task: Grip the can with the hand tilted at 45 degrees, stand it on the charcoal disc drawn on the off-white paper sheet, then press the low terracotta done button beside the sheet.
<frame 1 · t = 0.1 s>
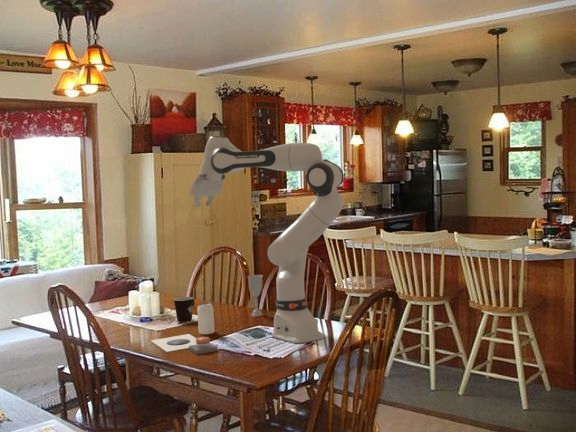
hand: (202, 206, 263), 52 cm above the table, tool tilted 20°, fingers open, 8 cm apart
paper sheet: (178, 343, 246), on the table
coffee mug: (187, 320, 286), on the table
chalice: (257, 315, 290), on the table
button base: (203, 350, 234), on the table
done button: (202, 340, 234), point 4 cm above the table, slide at 0.0 cm
can: (206, 333, 261), on the table
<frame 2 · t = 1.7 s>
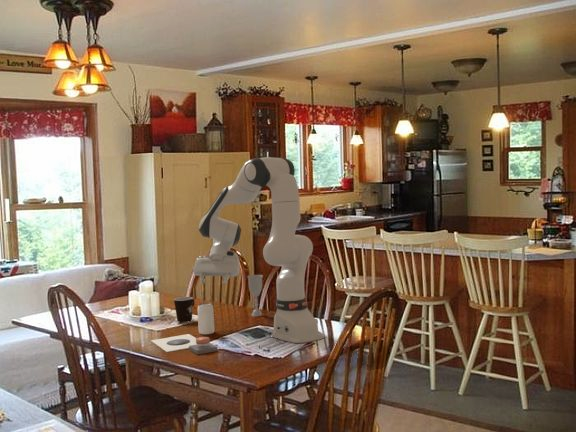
hand: (213, 283, 271), 18 cm above the table, tool tilted 45°, fingers open, 8 cm apart
nothing on the table moved.
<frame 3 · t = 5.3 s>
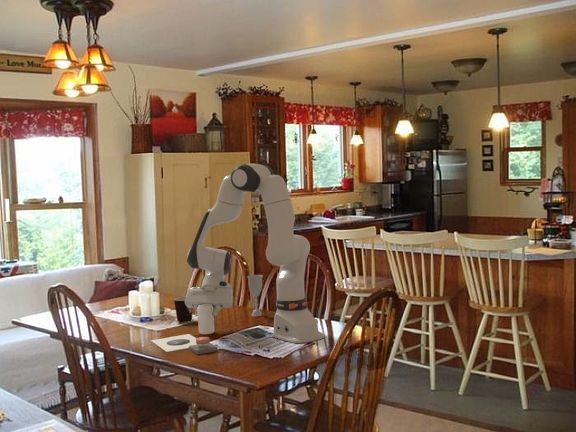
hand: (205, 315, 260), 7 cm above the table, tool tilted 45°, fingers closed on can, 6 cm apart
can: (206, 333, 261), on the table, touching gripper
everything else where it was.
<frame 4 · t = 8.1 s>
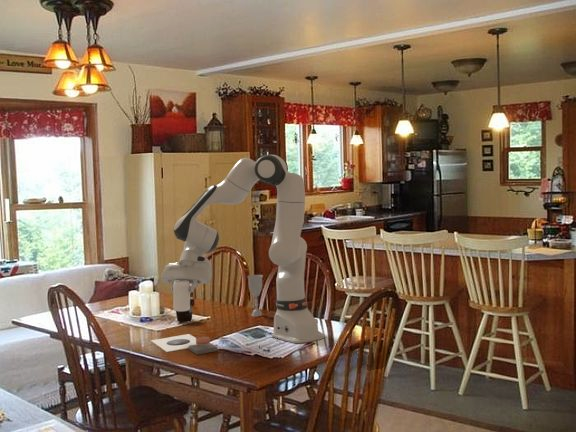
hand: (181, 291, 249), 20 cm above the table, tool tilted 45°, fingers closed on can, 6 cm apart
can: (181, 310, 250), point 12 cm above the table, touching gripper
everything else where it was.
when the fingers open (9 cm above the table, at t = 10.9 s): can drops 1 cm, resting on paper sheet.
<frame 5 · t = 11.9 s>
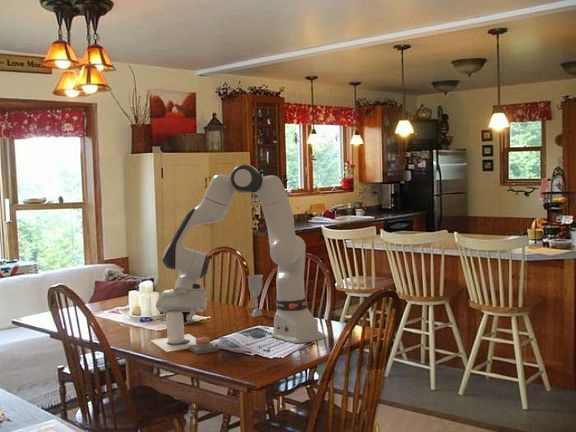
hand: (177, 319, 246), 9 cm above the table, tool tilted 45°, fingers open, 8 cm apart
can: (176, 342, 247), resting on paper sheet
everything else where it was.
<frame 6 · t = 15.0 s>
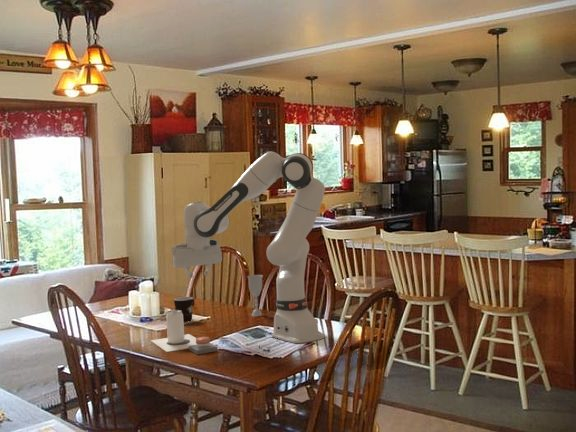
hand: (198, 276, 256), 24 cm above the table, tool pointing down, fingers open, 5 cm apart
nothing on the table moved.
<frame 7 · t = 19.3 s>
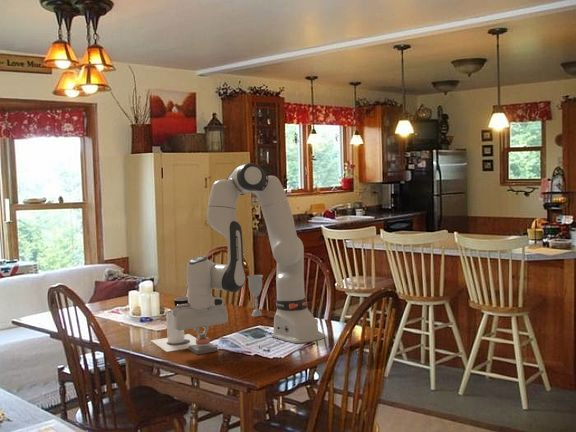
hand: (201, 338, 234), 4 cm above the table, tool pointing down, fingers closed, pressing on done button
done button: (202, 340, 234), point 4 cm above the table, slide at 0.1 cm, touching gripper
everything else where it was.
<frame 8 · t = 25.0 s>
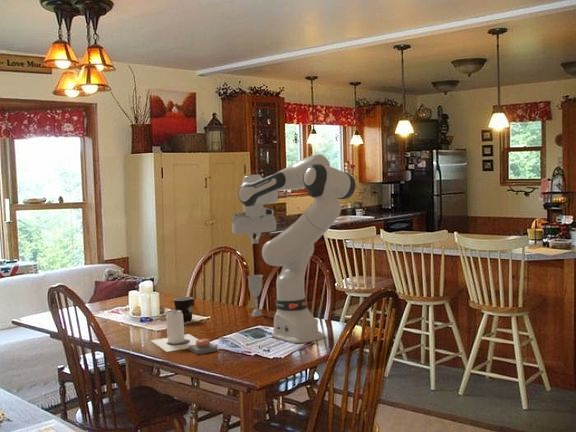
hand: (254, 243, 277), 34 cm above the table, tool pointing down, fingers closed
done button: (202, 342, 234), point 3 cm above the table, slide at 0.8 cm
everything else where it was.
at the end: can 0.8 cm off-centre on the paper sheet, point 0.2 cm above the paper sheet's base; can tilted 0°; done button slide at 0.8 cm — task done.
